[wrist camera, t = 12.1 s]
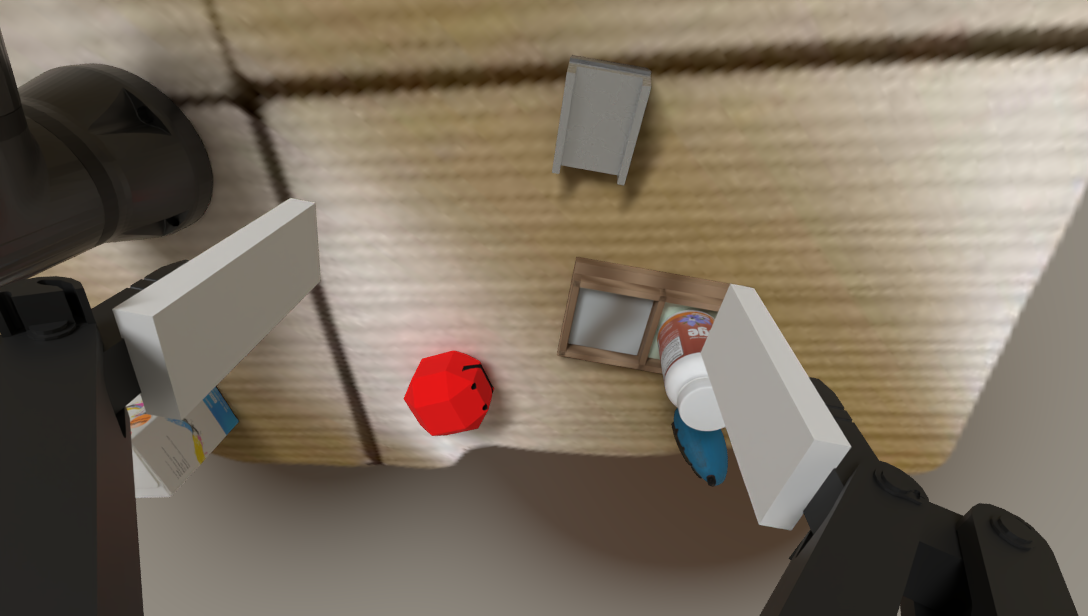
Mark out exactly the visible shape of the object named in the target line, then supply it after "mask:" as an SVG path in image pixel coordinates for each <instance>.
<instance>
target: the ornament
mask: <svg viewBox="0 0 1088 616" xmlns="http://www.w3.org/2000/svg"><path fill="white" fill-rule="evenodd" d="M671 425H672V429H673V433H674V437H675V440H676V442H677V445H678V447H679V449H680V451H681V453H682V455H683V457H684V459H685V460H686V462H687V463H688V464H689V465H691V468H692V470H693V471H694V473H695V474H696V475H697V476H698V477H699V478H703V479H704V480H705V481H707V482H708V485H710V486H716V485H719V484H721V483H722V482H723V481H724V480H725V477H726V474H727V467H728V463H727V462H728V460H727V459H728V458H727V457H728V456H727V448H726V443H725V440H724V436H723V434H722V431H721V429H718V430H714V431H701V430H696V429H693V428H691V427H689V426H688V425H687V424H685V423H684V422H683V420H682V419H681V417H680V414H679V410H678V407H677V409H676V411H675V414H674V422H673V423H672V424H671Z"/></svg>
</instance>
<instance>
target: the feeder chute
mask: <svg viewBox="0 0 1088 616" xmlns="http://www.w3.org/2000/svg"><path fill="white" fill-rule="evenodd" d="M650 75H651V71H650V70H649V69H648V68H643V67H637V66H632V65H626V64H620V63H615V62H609V61H603V60H598V59H592V58H586V57H581V56H575V55H572V56H571V57H570V62H569V66H568V70H567V76H566V83H565V89H564V96H563V103H562V109H561V116H560V123H559V129H558V136H557V143H556V149H555V156H554V163H553V169H552V173H557V174H559V172H560V167H561V165H562V166H568V167H574V168H579V169H585V170H591V171H597V172H602V173H608V174H614V175H617V184H619V185H624V184H625V181H626V177H627V173H628V170H629V166H630V162H631V159H632V155H633V152H634V148H635V144H636V141H637V137H638V133H639V130H640V126H641V122H642V119H643V115H644V112H645V108H646V104H647V101H648V97H649V93H650V90H651V76H650Z"/></svg>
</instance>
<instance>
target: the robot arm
mask: <svg viewBox="0 0 1088 616" xmlns="http://www.w3.org/2000/svg"><path fill="white" fill-rule="evenodd" d="M211 194H212V172H211V167H210V162H209V159H208V156H207V153H206V151H205V148H204V146H203V144H202V142H201V140H200V138H199V136H198V134H197V132H196V131H195V129H194V128H193V126H192V125H191V123H190V122H189V121H188V119H187V118H186V117H185V115H184V114H183V113H182V112H181V111H180V109H179V108H178V107H177V106H176V105H175V104H174V103H173V102H172V101H171V100H170V99H169V98H168V97H167V96H165V95H164V94H163V93H162V92H161V91H159V90H158V89H157V88H155V87H154V86H153V85H151V84H150V83H148V82H147V81H145V80H143V79H142V78H140V77H138V76H136V75H134V74H132V73H130V72H128V71H125V70H122V69H120V68H117V67H113V66H109V65H103V64H80V65H70V66H62V67H58V68H54V69H51V70H48V71H46V72H44V73H42V74H40V75H39V76H37V77H35V78H34V79H32V80H30V81H29V82H27V83H25V84H24V85H22V86H20V87H19V88H17V85H16V82H15V78H14V75H13V71H12V68H11V64H10V61H9V57H8V54H7V50H6V47H5V43H4V40H3V36H2V33H1V29H0V333H1V335H0V616H144V613H143V599H142V585H141V570H140V557H139V543H138V528H137V514H136V499H135V484H134V470H133V455H132V441H131V427H130V417H129V414H128V411H127V408H126V405H128V404H129V403H130V402H131V401H132V400H133V399H135V398H136V397H137V396H138V395H139V394H140V395H141V398H142V401H143V404H144V407H145V410H146V413H147V414H149V415H155V416H160V417H166V418H171V419H177V420H183V419H184V418H185V417H186V416H187V415H188V414H189V413H190V412H191V411H192V410H193V409H194V408H195V407H196V406H197V405H198V404H199V403H200V402H201V401H202V400H203V399H204V398H205V397H206V396H207V394H208V393H209V392H210V391H211V390H212V389H213V388H214V387H215V386H216V385H217V384H218V383H219V382H220V381H221V380H222V379H223V378H224V377H225V376H226V375H227V374H228V373H229V372H230V371H231V370H232V369H233V368H234V367H235V366H236V365H237V364H238V363H239V362H240V361H241V360H242V359H243V358H244V357H245V356H246V355H247V354H248V353H249V352H250V351H251V350H252V349H253V348H254V347H255V346H256V345H257V344H258V343H259V342H260V341H261V340H262V339H263V338H264V337H265V336H266V335H267V334H268V333H269V332H270V331H271V330H272V329H273V328H274V327H275V326H276V325H277V324H278V323H279V322H280V321H281V320H282V319H283V318H284V317H285V316H286V315H287V314H288V313H289V312H290V311H291V310H292V309H293V308H294V307H295V306H296V305H297V304H298V303H299V302H300V301H301V300H302V299H303V298H304V297H305V296H306V295H307V294H308V293H309V292H310V291H311V290H312V289H313V288H314V287H315V286H316V285H317V284H318V283H319V282H320V281H321V279H320V264H319V249H318V234H317V220H316V205H315V203H314V202H309V201H303V200H298V199H293V198H290V199H288V200H286V201H285V202H283V203H282V204H280V205H278V206H277V207H275V208H274V209H272V210H270V211H269V212H267V213H266V214H264V215H262V216H261V217H259V218H258V219H256V220H254V221H253V222H251V223H250V224H248V225H246V226H245V227H243V228H241V229H240V230H238V231H237V232H235V233H233V234H232V235H230V236H229V237H227V238H225V239H224V240H222V241H221V242H219V243H217V244H216V245H214V246H213V247H211V248H209V249H208V250H206V251H205V252H203V253H201V254H200V255H198V256H197V257H195V258H193V259H192V260H190V261H188V260H182V261H179V262H176V263H173V264H170V265H167V266H164V267H161V268H159V269H158V270H156V271H154V272H153V273H151V274H149V275H148V276H146V277H145V278H144V280H142V279H141V280H139V281H137V282H136V283H134V284H132V285H131V287H130V288H126V289H124V290H122V291H121V292H119V293H117V294H116V295H114V296H112V297H111V298H109V299H107V300H106V301H104V302H102V303H101V304H99V305H97V306H96V307H94V308H92V309H91V307H90V305H89V302H88V299H87V296H86V293H85V291H84V288H83V286H82V284H81V282H79V281H76V280H74V279H72V278H66V277H58V276H53V277H36V278H31V279H28V278H30V277H32V276H34V275H37V274H39V273H41V272H43V271H45V270H47V269H49V268H51V267H53V266H56V265H58V264H60V263H62V262H64V261H66V260H69V259H71V258H73V257H75V256H77V255H79V254H81V253H84V252H86V251H87V250H90V249H92V248H94V247H96V246H98V245H101V244H103V243H110V242H120V241H130V240H140V239H151V238H159V237H163V236H167V235H170V234H173V233H175V232H177V231H179V230H181V229H183V228H185V227H187V226H189V225H191V224H193V223H194V222H196V221H197V220H198V219H199V218H200V217H201V216H202V215H203V214H204V212H205V210H206V209H207V207H208V205H209V202H210V199H211ZM701 356H702V359H703V362H704V365H705V368H706V370H707V373H708V376H709V379H710V382H711V385H712V388H713V391H714V394H715V397H716V400H717V403H718V406H719V409H720V412H721V415H722V417H723V420H724V423H725V426H726V429H727V432H728V435H729V438H730V441H731V444H732V447H733V450H734V452H735V455H736V458H737V461H738V465H739V467H740V470H741V473H742V476H743V479H744V482H745V485H746V488H747V491H748V494H749V497H750V500H751V503H752V505H753V509H754V512H755V514H756V517H757V520H758V523H759V524H760V525H764V526H770V527H775V528H781V529H787V530H792V529H793V527H794V526H795V525H796V523H797V522H798V520H799V519H800V518H801V516H802V515H803V513H804V515H805V517H806V520H807V522H808V524H809V526H810V531H809V532H808V534H807V535H806V536H805V537H804V539H803V540H802V541H801V543H800V544H799V545H798V547H797V548H796V549H795V551H794V552H793V554H792V555H791V556H790V557H789V559H790V560H791V561H790V563H789V565H788V567H787V569H786V570H785V572H784V574H783V575H782V577H781V579H780V581H779V582H778V584H777V586H776V588H775V590H774V591H773V593H772V595H771V596H770V598H769V600H768V602H767V604H766V605H765V607H764V609H763V611H762V612H761V614H760V616H897V613H898V610H899V606H900V609H901V616H1078V614H1077V611H1076V608H1075V606H1074V603H1073V601H1072V598H1071V596H1070V593H1069V591H1068V588H1067V586H1066V583H1065V581H1064V578H1063V576H1062V573H1061V571H1060V568H1059V566H1058V563H1057V561H1056V558H1055V556H1054V553H1053V551H1052V550H1051V548H1050V547H1049V545H1048V543H1047V542H1046V540H1045V539H1044V538H1043V537H1042V536H1041V535H1040V534H1039V533H1038V532H1037V531H1035V529H1034V528H1033V527H1032V526H1031V525H1029V524H1028V523H1026V522H1024V520H1023V519H1021V518H1020V517H1018V516H1016V515H1013V514H1012V513H1010V512H1008V511H1006V510H1005V509H1002V508H999V507H996V506H994V505H991V504H980V503H979V504H977V505H975V506H973V507H972V508H971V509H970V510H969V511H968V512H967V513H966V514H965V515H964V516H962V515H960V514H957V513H955V512H953V511H950V510H948V509H945V508H943V507H940V506H938V505H935V504H933V503H931V502H929V499H928V497H927V495H926V494H925V492H924V490H923V489H922V487H921V486H920V485H919V484H918V483H917V482H916V481H915V480H914V479H913V478H911V477H910V476H909V475H907V474H906V473H905V472H903V471H902V470H900V469H899V468H896V467H894V466H892V465H890V464H888V463H886V462H882V461H879V460H878V458H877V457H876V455H875V454H874V452H873V451H872V449H871V448H870V446H869V445H868V443H867V442H866V440H865V438H864V437H863V435H862V434H861V432H860V431H859V429H858V428H857V426H856V425H855V423H852V419H851V417H850V416H849V414H848V413H847V411H845V410H844V407H843V405H842V404H841V402H840V400H839V399H838V397H837V396H836V394H835V393H834V392H833V391H832V390H831V389H829V388H828V387H827V386H826V385H825V384H824V383H823V382H822V381H820V380H819V379H816V378H811V377H808V375H807V374H806V372H805V371H804V369H803V367H802V366H801V364H800V362H799V361H798V359H797V358H796V356H795V354H794V353H793V351H792V349H791V348H790V346H789V345H788V343H787V341H786V340H785V338H784V336H783V335H782V333H781V332H780V330H779V328H778V327H777V325H776V323H775V322H774V320H773V319H772V317H771V315H770V314H769V312H768V310H767V309H766V307H765V306H764V304H763V302H762V301H761V299H760V297H759V296H758V294H757V293H756V291H755V289H754V288H750V287H745V286H740V285H734V284H730V286H729V288H728V290H727V293H726V295H725V297H724V300H723V302H722V304H721V307H720V309H719V311H718V314H717V316H716V318H715V321H714V323H713V325H712V328H711V330H710V332H709V335H708V337H707V339H706V342H705V344H704V346H703V349H702V351H701Z"/></svg>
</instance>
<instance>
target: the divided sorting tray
mask: <svg viewBox="0 0 1088 616" xmlns="http://www.w3.org/2000/svg"><path fill="white" fill-rule="evenodd" d="M729 286H730V284H728V283H722V282H717V281H711V280H705V279H700V278H694V277H688V276H683V275H677V274H671V273H666V272H660V271H654V270H649V269H643V268H637V267H632V266H626V265H620V264H615V263H609V262H603V261H598V260H592V259H586V258H580V257H576V262H575V267H574V272H573V277H572V281H571V286H570V291H569V296H568V301H567V306H566V311H565V316H564V321H563V326H562V331H561V335H560V340H559V345H558V351H557V355H558V356H564V357H569V358H575V359H581V360H586V361H592V362H598V363H603V364H609V365H615V366H620V367H626V368H632V369H637V370H643V371H649V372H654V373H660V374H663V373H662V367H661V361H660V355H659V349H658V343H657V335H658V331H659V328H660V326H661V325H662V323H663V322H664V321H665V320H666V319H667V318H668V317H669V316H671V315H673V314H675V313H677V312H680V311H684V310H698V311H702V312H705V313H707V314H709V315H710V316H712V317H713V318H714V319H715V318H716V316H717V314H718V311H719V309H720V307H721V304H722V302H723V300H724V297H725V295H726V293H727V290H728V288H729ZM750 288H751V287H750Z"/></svg>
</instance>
